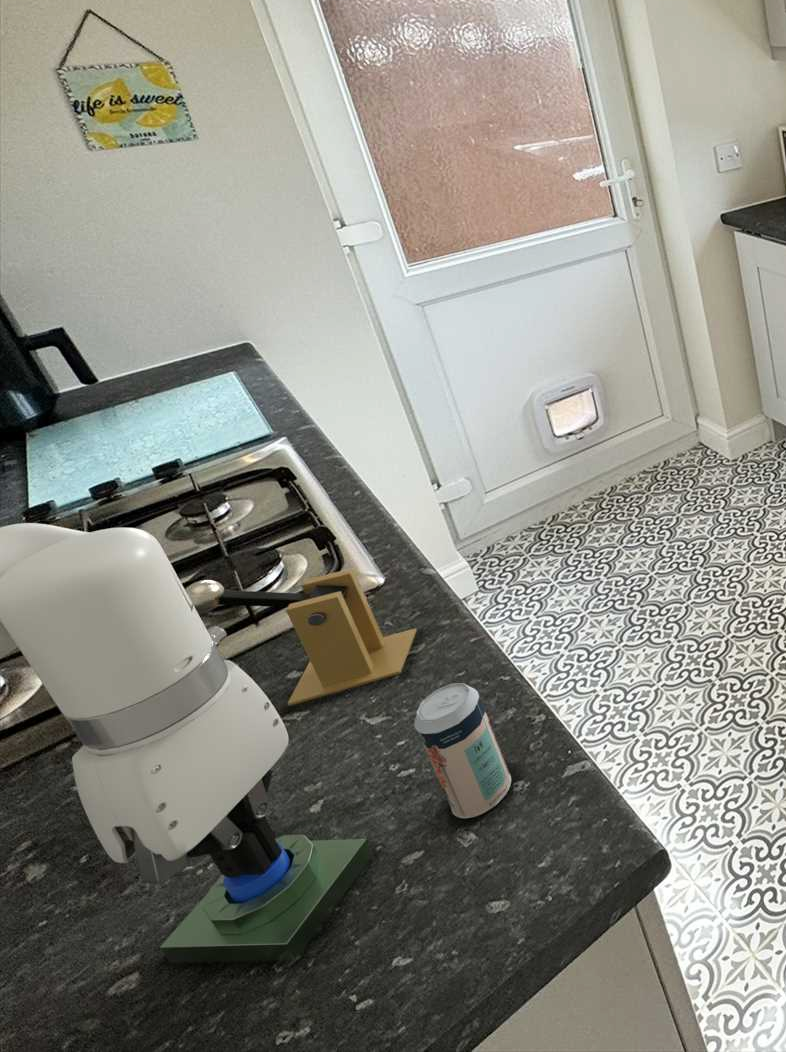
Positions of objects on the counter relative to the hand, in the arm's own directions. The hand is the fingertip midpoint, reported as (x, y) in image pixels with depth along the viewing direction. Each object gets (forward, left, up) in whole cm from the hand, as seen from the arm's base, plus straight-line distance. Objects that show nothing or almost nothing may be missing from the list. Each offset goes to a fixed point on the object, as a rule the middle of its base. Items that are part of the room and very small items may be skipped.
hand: (255, 864), depth 62 cm
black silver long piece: (-7, +28, +5) cm, 29 cm away
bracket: (-2, +28, -5) cm, 28 cm away
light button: (0, 0, -2) cm, 2 cm away
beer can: (+14, +4, -6) cm, 15 cm away
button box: (0, 0, -5) cm, 5 cm away
